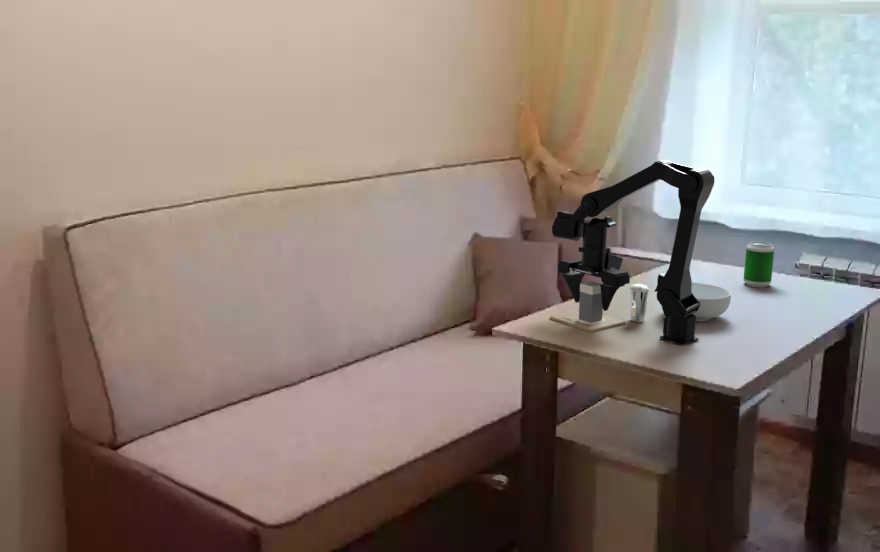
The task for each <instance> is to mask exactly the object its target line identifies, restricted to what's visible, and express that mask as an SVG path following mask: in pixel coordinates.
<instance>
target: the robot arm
mask: <svg viewBox="0 0 880 552" xmlns="http://www.w3.org/2000/svg"><path fill="white" fill-rule="evenodd" d="M659 181H663V182H664V183H666V184H668V185H669V186H672V187H674V188H677V189H678V190H677V191H678V192H677V196H678V201H679V205H680V209H679V210H680V211H679V216H678V220H677V224H676V225H677V226H676V231H675V236H674V241H673V245H672V251H671V255H670V261H669V266H668V269H667V270H666V271H664V272H661V273H658V275H657V282H656V283H657V284H656V288H655V289H654V292H655V293H656V300H657V302H658V303H659V304H660V305H661V310H662V313H663V316H664V318H663V329H662V335H660V336H659V339H661V340H662V341H663V340H664V341H667V342H670V343H673V344H677V345H682V346H683V345H686V344H690V343H693V342H697V341H699V337H697V336H695V335H696V326H697V325H696V323H697V321H696V315H694V314H693V313H695V312H697V311H698V309H699V307H700V305H701V304H700V303H699V301H698V300H697V299H696V298H695V296H694V295H693V294H692V292H691V289H692V282H693V280H692V276H691V269H690V268H691V263H692V258H693V253H694V248H695V243H696V238H697V233H698V229H699V225H700V223H699V222H700V219H701V214H702V211H703V209H704V206H705V205H706V203H707V201H708V199H709V198H710V195H711V193H712V190H713V188H714V185H715V176H714V174H713V173H712V172H711V171H710V170H709V169H708V168H706V167H698V168H694V167H692V166H687V165H684V164H680V163H675V162H673V161H670V160H668V159H661V160H657V161H654V162H653V163H652V164H651V165H650V166H647V167H646V168H644V169H642V170H640V171H638V172H636V173H634V174H632V175H631V176H629V177H627V178H625V179H623V180H621V181H619V182H617V183H615V184H613V185H611V186H607V187H604V188H601V189H598V190H594V191H592V192H587V193H586V194H584V195H582V197H581V200H580V205H579V206H578V208H577V209H576V210H575V211H574V212H571V211H570V212H569V211H567V210H558V211H557V212H556V213H557V215H556V217H555V218H554V221H553V223H552V226H551V231H552V232H551V233H552V236H553V237H554V238H555V239H561V240H566V241H573V242H575V241H576V242H578V241H579V240H580V239H581V238H582V246H579V247H578V252H579V253H581V259H578V258H577V259H576V258H567V259H563V260H560V261H559V262H558V264H557V273H560V275H561V277H562V278H563V279H564V281H565V284H567V287H568V289H569V291H570V293H571V296H572V298H573V300H574V303H577V304H578V303H579V302H580V283H582V282H583V279H584V276H585V275H589V276H592V277H596V278H600V280H601V281H600V282H602V283H601V285H600V287H601V297H602V306H603V311H604V312H606V311H608V310H609V308H610V305H611V303H612V301H613V299H614V296H615V294H616V292H617V291H618V289H619V288H621V287H624V286H625V285H628V284H630V282H631V275H630V273H629V272H628V271H627V270H622V269H621V266H622V265H623V264H622V263H623V260H624V258H623V257H621V256H618V255H614V254H612V253H611V251H612V250H611V248H610V247H608V246H607V245H608V243H607V242H608V228H609V229H610V228H613V227H616V226H617V222H616V221H614V220H613V219H612V217H611V216H609V215H608V216H605V217H604V218H600V217H598V216H602V215H605V214H608V213H609V212H611V211H612V210H613V209H614V208H616V207H617V206H618V205H619V204H620V203H621V202H623V200H625V198H627V197H630V196H632V195H633V194H636V193H637V192H639V191H641V190H643V189H646V188H647V187H650V186H651V185H653V184H656V183H657V182H659ZM588 218H592V219H590V220H588Z"/></svg>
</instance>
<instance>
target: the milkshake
mask: <svg viewBox="0 0 880 552" xmlns="http://www.w3.org/2000/svg"><path fill="white" fill-rule="evenodd" d="M653 282H654V281H651V284H650V286H649V287H648V286H647V285H646V284H643V283H633V284H632V285H630V287H629V302H630V304H629V305H630V306H629V307H630V317H629V318H630V321H632V322H635V323H641V322H642V323H643V322H644V321H645V317H646V309H647V304H648V303H647V302H648V297H649V290H650V288H651V286H652V284H653Z"/></svg>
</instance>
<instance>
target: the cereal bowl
mask: <svg viewBox="0 0 880 552" xmlns="http://www.w3.org/2000/svg"><path fill="white" fill-rule="evenodd" d="M691 292H692V294H693V295H694V296H695V298H696V299H697V300H698V301H699V303H700V304H701V305H700V307H699V309H698V311H697V312H695V313H693V314H694V315H696V322H704V321H709V320H710V319H712V318H716V317H718V316H722V315H723V314H724V313H725V312H726V311H727V310H728V308H729V307H730V304H731V298H732V293H731V291H730V290H729V289H727V288H724V287H722V286H717V285H713V284H707V283H702V282H694V281H692V289H691Z"/></svg>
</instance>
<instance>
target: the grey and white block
mask: <svg viewBox="0 0 880 552" xmlns="http://www.w3.org/2000/svg"><path fill="white" fill-rule="evenodd" d="M601 284H602V283H601V282H597V281H592V280H591V281H585V282H581V283H580V301H579V302H578V303H579V305H578V310H579V319H580V320H583V321H586V322H589V323H593V322H597V321H601V320H602V315H603V311H604V310H603V306H602V297H601V287H600V285H601Z"/></svg>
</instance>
